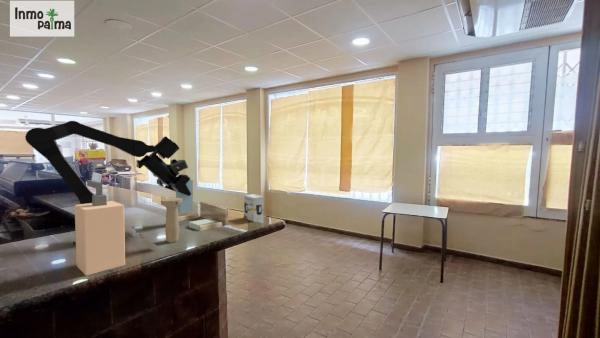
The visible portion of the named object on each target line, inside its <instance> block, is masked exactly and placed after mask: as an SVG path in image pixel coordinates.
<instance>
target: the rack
mask: <svg viewBox="0 0 600 338" xmlns="http://www.w3.org/2000/svg"><path fill="white" fill-rule="evenodd" d="M199 205H200V206H199V210H200V211H199V212H200V214H199V213H193V214H189V215H188V214H187V215H182V216H178V221H179V222H181V221H187V220H192V219H198V220H199V217H201V218H203V219H211V220H215V221H217V223H212V224H207V225H202V226H199V230H198V231H199V232H201V231H206V230H211V229H216V228H220V227H223V226H225V227H226V226H229V208H227V207H223V206H221V205H216V204H213V203H209V202H206V201H200V203H199ZM198 220H196V221H198ZM193 221H194V220H193ZM193 221H191V222H193Z"/></svg>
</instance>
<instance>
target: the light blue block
mask: <svg viewBox="0 0 600 338" xmlns="http://www.w3.org/2000/svg"><path fill="white" fill-rule="evenodd" d="M193 184H194V181H193V179H190V180H189V181H188V182H187V183H186V186H187V187H188V189H189V191H190V193H191V195H190V196H188V195H185V194H182V193H180V192H177V191H176V192H175V198H182V199H183V203H181V204H180V205H179V206H178V213H182V214H183V213H189V212H193V210H194V207H193V205H194V201H193V199H194V191H193V190H194V185H193Z"/></svg>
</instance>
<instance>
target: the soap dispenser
mask: <svg viewBox="0 0 600 338" xmlns="http://www.w3.org/2000/svg"><path fill="white" fill-rule="evenodd" d="M86 186H87V187H88V188H89V187H90V188H93V189H95V194H96V195H92V203H88V204H80V203H79V204H74V224H75V229H74V230H75V241H76V244H75V255H76V256H75V258H76V267H77V268H78V270H80V271H81V272H82V273H83V275H84V276H89V275H94V274H97V273H101V272H105V271H108V270H109V271H110V270H113V269H115V268H119V267H123V266H126V250H125V249H126V245H125V242H126V240H125V237H126V236H125V205H124V204H122V203H120V202H117V201H115V200H110V201H109V200H107V195H106V194H104V193H103V182H100V181H96V180H93V179H91V180H89V179H88V180H86Z"/></svg>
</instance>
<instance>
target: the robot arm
mask: <svg viewBox="0 0 600 338" xmlns="http://www.w3.org/2000/svg"><path fill="white" fill-rule="evenodd" d="M71 135H77V136H79V137H83V138H85V139H89V140H92V141H95V142H98V143H102V144H105V145H108V146H111V147H114V148H116V149H118V150H120V151H122V152H124V153H126V154H128V155H129V156H131V157H136V158H140V159H136V160H135V161H136V168H138V169H141V168H143V167H145V168H146V169H147V170H148V171H150V173H151V174H152V176H153V177H155V178H157V179H156V184H157V185H158V186H159V187H160V188H163V187H164V189H168V190H170V191H173V192H175V193H176V191H177V192H180V193H182V194H185V195H188V196H190V195H191V193H190V191H189V189H188V187H187V186H186V183H187V182H188V181H189V180H191V177H189V176H188V174H181V173H180V172H181V171H184V170H187V169H188V168H189V166H188V164H187V162H186V160H185V159H178V160H177V159H174V158H173V159H171V160H170V164H169V163H166V162H165V161H164V160H165V159H167V160H169V159H170V158H171V157H172V156H174V154H175V153H177V152H178V151H179V150H180V146H179V145H178V144H177V143H176V142H175V141H173V140H171V139H170V138H168V137H167V136H163V137H162V138H161V139H160V140H159V141H158V142H157V143H156V144H155V145H153V144H151V145H150V144H149V145H148V144H147V143H146V142H145V141H143V140H139V139H133V138H128V137H127V138H126V137H120V136H117V135H114V134H112V133H108V132H105V131H103V130H100V129H97V128H94V127H91V126H89V125H87V124H86V125H85V124H83V123H80V122H79V121H75V120H68V121H67V122H64V123H60V124H57V125H54V126H50V127H47V128H42V127H33V128H31V129H29V130H28V131H27V132H26V134H25V138H24V139H25V141H26V142H27V144H28V145H29V146H31V147H32V148H33V149H34V150H35V151H36V152H37V153H39V154H40V155H41V156H43V157H44V158H45V159H46V160H47V161H48V162H49V163H50V165H51V166H52V167H53V169H54V170H55V171H56V172H57V173H58V175H59V176H60V178H61V179H62V180H63V181H64V182H65V183H66V185H67V186H68V187H69V188H70V189H71V191H72V193H74V196H76V197H77V199H78V201H79V204H88V203H92V195H96V193H93V192H92V191H91V190H90V189H89V187H88V186H87V184H86V183H85V182H84V181H83V180H82V179H81V176H79V174H78V173H77V172H76V171H75V169H74V168H73V167H72V166H71V164H70V163H69V161H68V160H67V159H66V158H65V156H64V155H63V154H62V151H61V149H60V147H59V145H58V143H57V141H58V140H60V139H63V138H66V137H69V136H71ZM148 153H150V154H149V155H148ZM161 158H162V159H161ZM164 185H165V186H164ZM72 244H73V245H76V240H74V241H72Z"/></svg>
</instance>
